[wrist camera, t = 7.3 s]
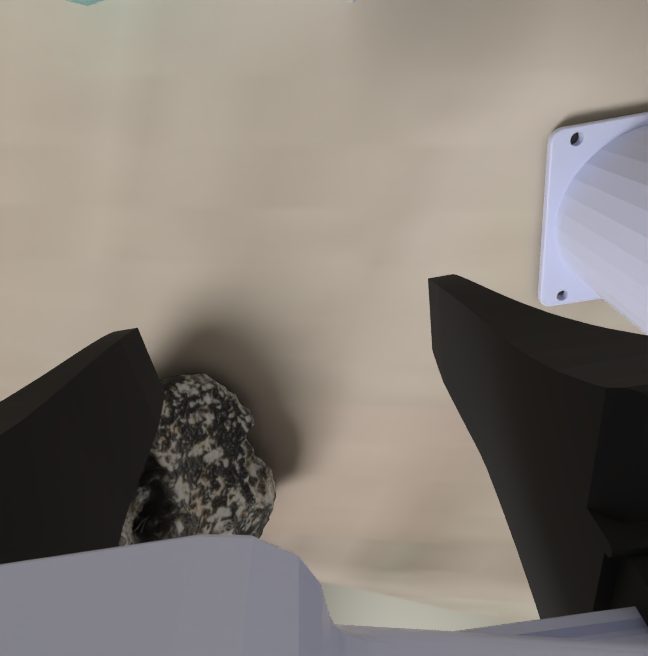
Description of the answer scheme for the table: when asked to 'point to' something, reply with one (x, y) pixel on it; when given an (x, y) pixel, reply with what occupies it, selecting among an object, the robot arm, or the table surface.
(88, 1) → the teal slab
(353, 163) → the table surface
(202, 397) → the rock
